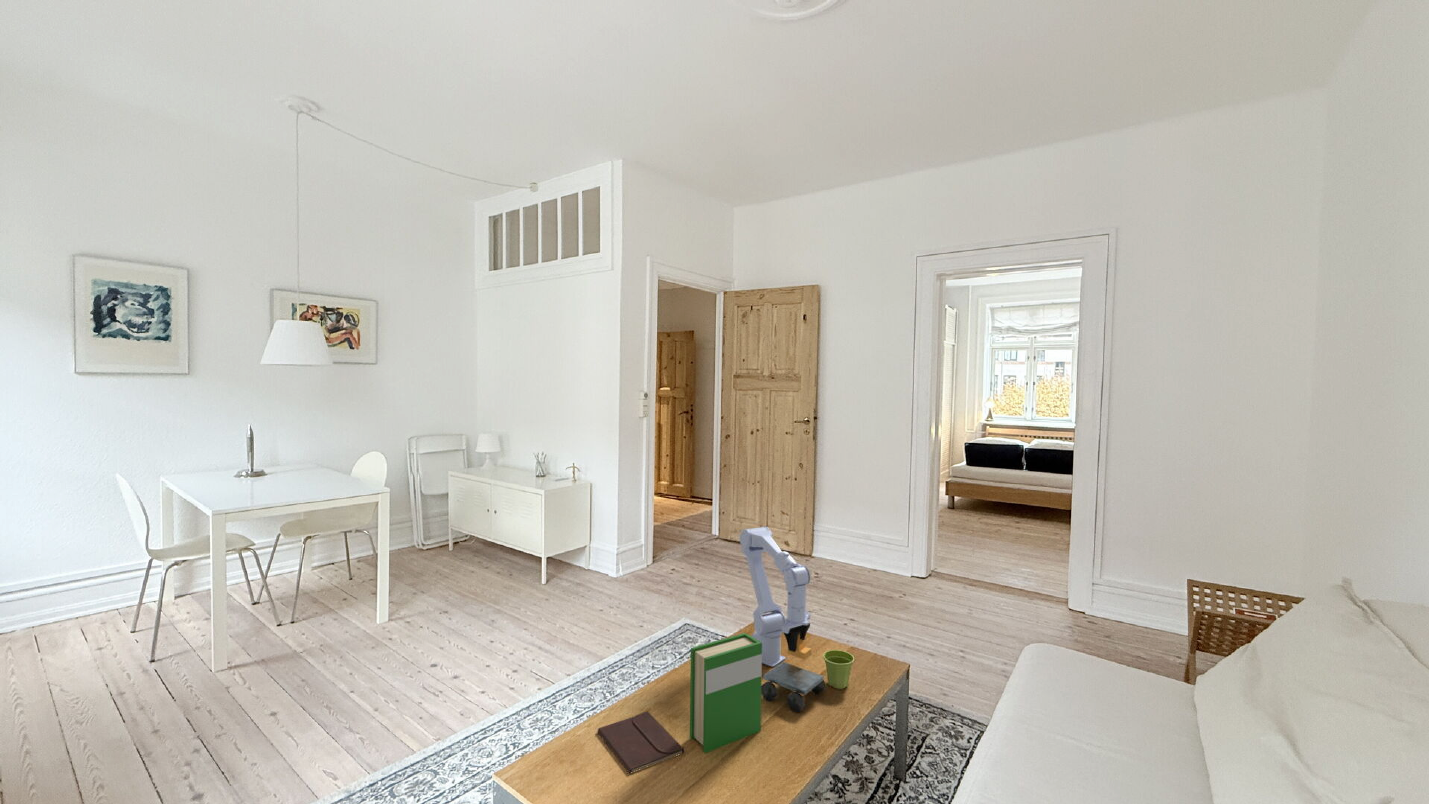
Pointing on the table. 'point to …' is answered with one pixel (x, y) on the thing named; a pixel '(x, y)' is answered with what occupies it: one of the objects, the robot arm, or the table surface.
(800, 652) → the orange stepped block
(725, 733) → the hardback book
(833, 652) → the plant pot
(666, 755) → the notebook
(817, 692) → the trolley
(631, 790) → the table surface
